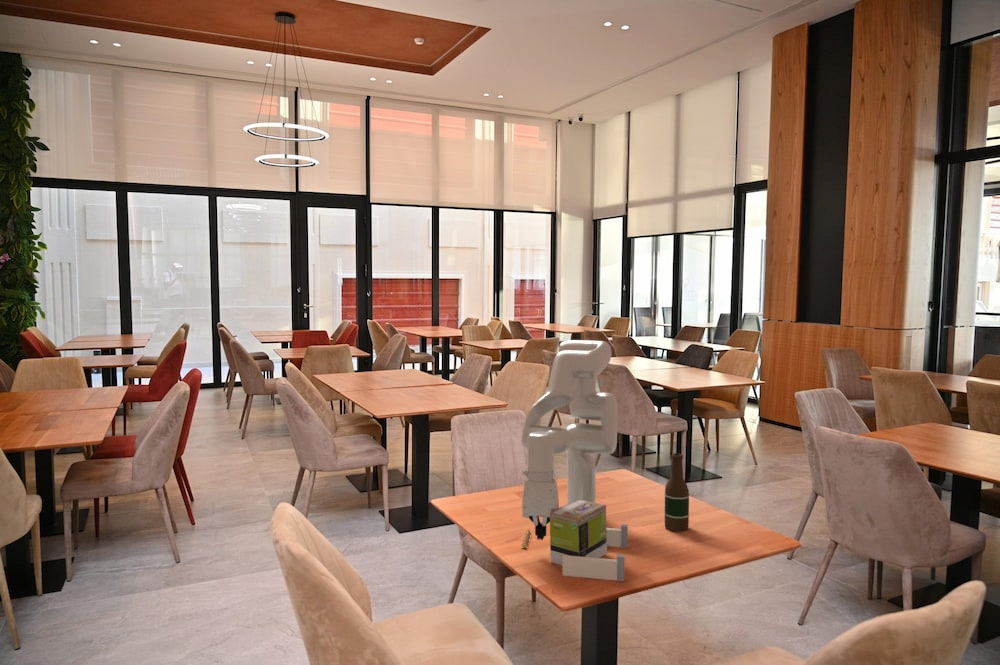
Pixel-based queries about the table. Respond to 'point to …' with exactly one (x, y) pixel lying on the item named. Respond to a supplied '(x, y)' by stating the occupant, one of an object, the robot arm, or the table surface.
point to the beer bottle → (676, 498)
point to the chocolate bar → (526, 539)
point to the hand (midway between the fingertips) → (540, 537)
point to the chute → (600, 560)
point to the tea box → (578, 531)
